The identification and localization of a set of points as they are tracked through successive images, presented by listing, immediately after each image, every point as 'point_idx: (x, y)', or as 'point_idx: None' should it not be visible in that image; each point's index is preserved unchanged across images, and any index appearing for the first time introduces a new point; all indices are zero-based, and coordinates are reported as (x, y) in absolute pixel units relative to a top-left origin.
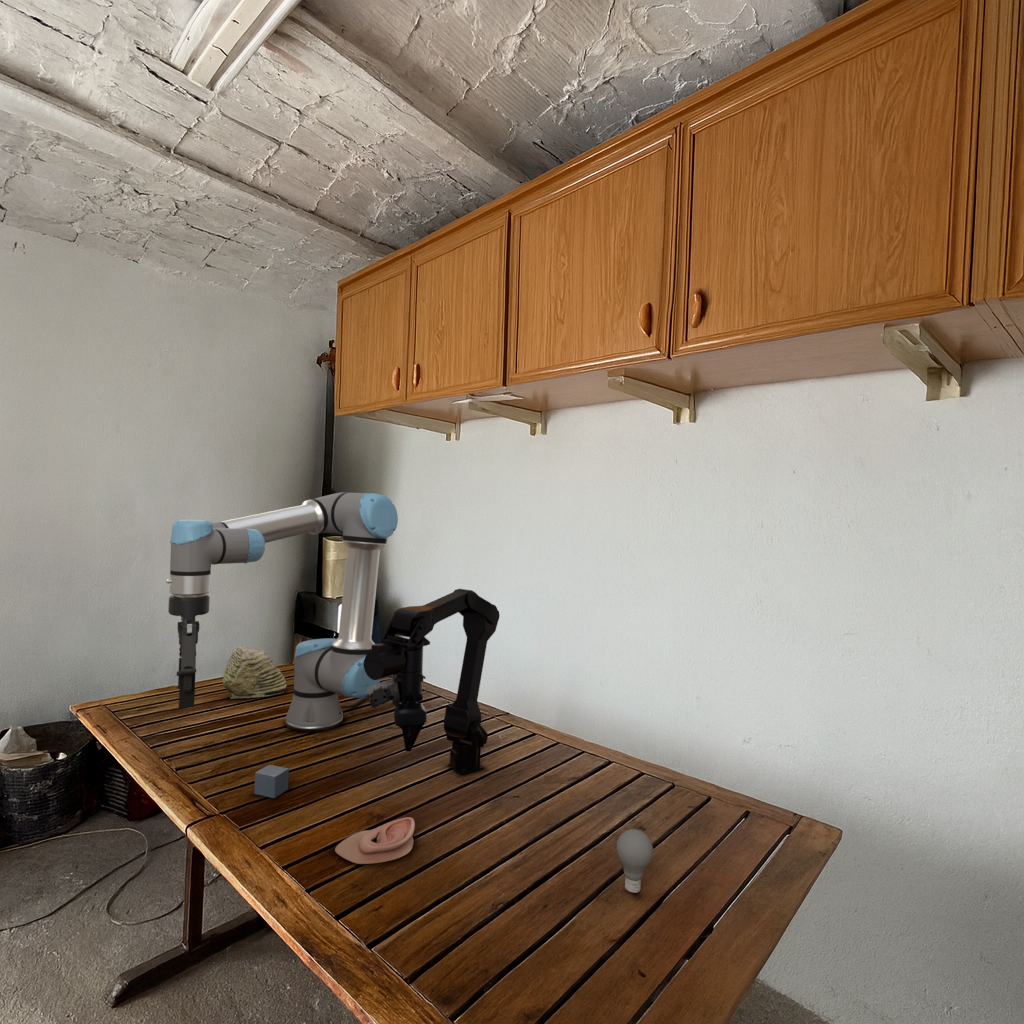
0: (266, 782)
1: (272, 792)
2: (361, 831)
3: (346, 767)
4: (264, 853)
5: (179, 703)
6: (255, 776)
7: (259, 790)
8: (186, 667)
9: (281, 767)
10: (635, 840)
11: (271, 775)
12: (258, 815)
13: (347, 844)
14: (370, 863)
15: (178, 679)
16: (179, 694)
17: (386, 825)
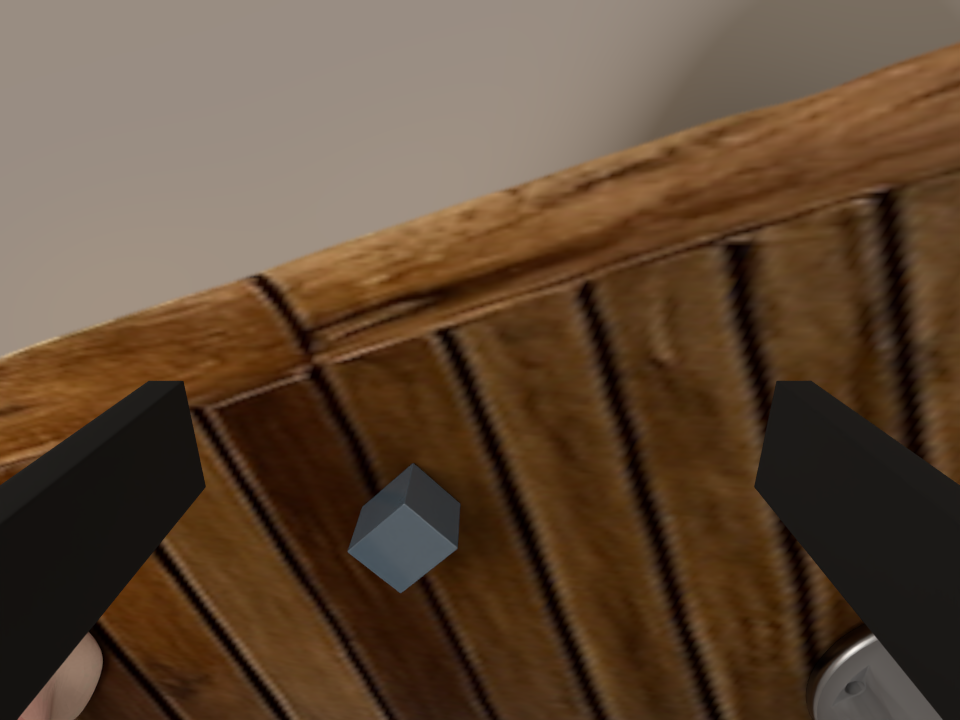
0: (373, 516)
1: (363, 513)
2: (81, 653)
3: (496, 687)
4: (49, 450)
5: (124, 403)
6: (404, 497)
7: (397, 482)
8: (904, 588)
9: (415, 576)
10: None
11: (361, 544)
12: (267, 458)
13: None
14: None
15: (832, 425)
16: (57, 446)
17: (23, 714)
